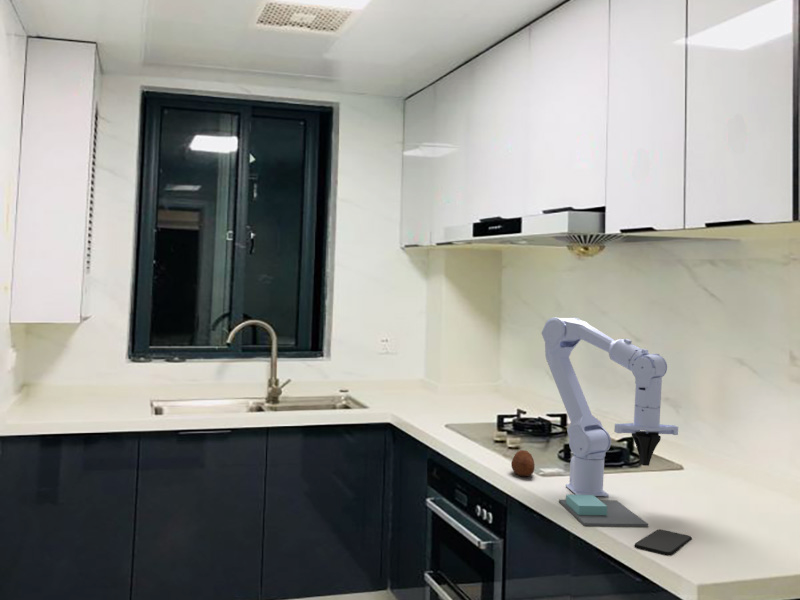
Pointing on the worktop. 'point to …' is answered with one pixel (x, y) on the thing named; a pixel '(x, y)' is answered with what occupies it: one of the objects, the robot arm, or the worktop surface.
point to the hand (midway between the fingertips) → (644, 464)
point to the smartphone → (663, 542)
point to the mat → (609, 516)
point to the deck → (586, 505)
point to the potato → (523, 463)
